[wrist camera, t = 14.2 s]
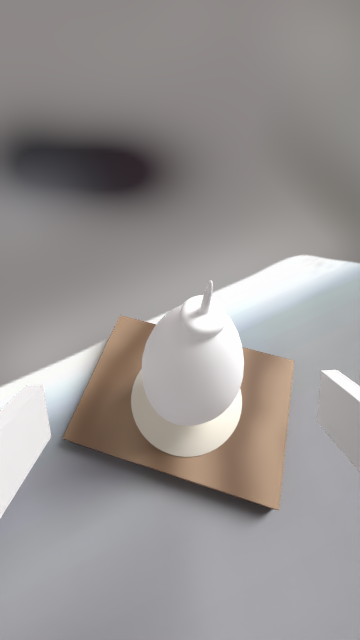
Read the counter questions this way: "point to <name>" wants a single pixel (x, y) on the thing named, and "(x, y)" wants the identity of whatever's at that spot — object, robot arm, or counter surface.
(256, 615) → the counter surface
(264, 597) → the counter surface
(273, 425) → the walnut board
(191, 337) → the white pear with stem
